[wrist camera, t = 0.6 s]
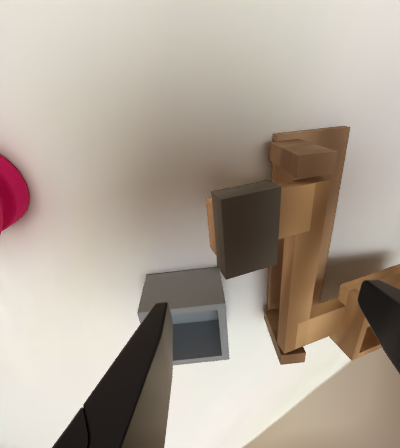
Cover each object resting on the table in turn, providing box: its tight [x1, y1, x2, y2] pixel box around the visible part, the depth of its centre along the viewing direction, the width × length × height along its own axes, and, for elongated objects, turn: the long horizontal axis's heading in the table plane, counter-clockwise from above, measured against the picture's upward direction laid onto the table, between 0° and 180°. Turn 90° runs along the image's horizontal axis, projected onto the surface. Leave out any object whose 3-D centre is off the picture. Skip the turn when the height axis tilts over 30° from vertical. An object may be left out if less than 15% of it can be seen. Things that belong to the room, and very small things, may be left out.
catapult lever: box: [206, 176, 400, 360], centre depth 17 cm, size 17×16×3 cm
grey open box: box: [137, 267, 229, 365], centre depth 22 cm, size 7×7×4 cm
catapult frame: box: [264, 126, 350, 365], centre depth 19 cm, size 6×18×6 cm, turn 6°
